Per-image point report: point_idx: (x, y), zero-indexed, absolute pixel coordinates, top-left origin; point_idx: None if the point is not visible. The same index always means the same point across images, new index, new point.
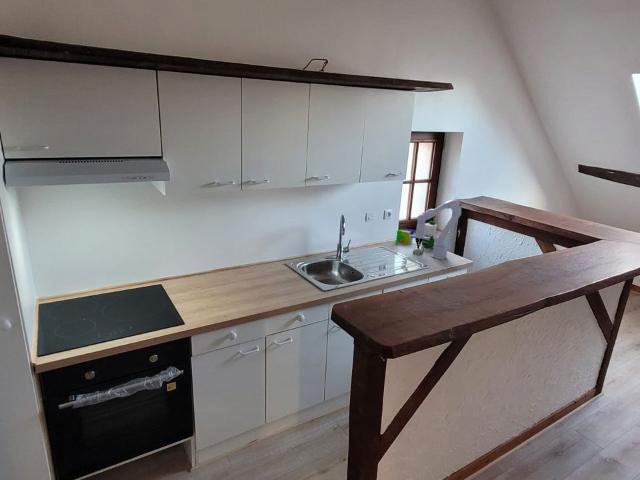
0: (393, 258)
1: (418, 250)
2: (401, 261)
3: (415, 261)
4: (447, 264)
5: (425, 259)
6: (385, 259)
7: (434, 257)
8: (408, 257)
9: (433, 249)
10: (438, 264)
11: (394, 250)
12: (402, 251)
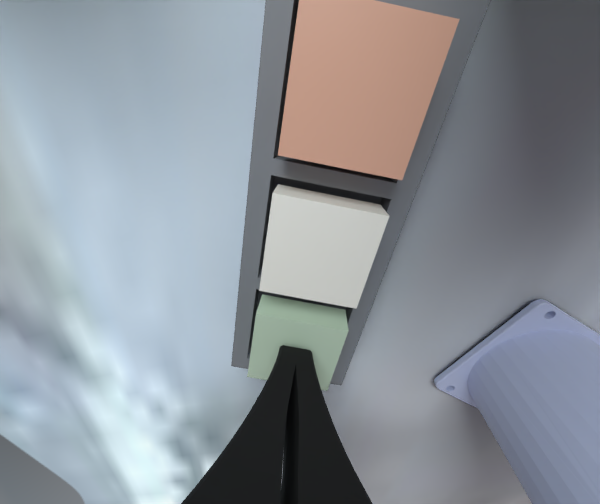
0: (100, 450)
1: None
2: (170, 482)
3: None
4: (517, 491)
5: (357, 438)
6: (58, 468)
7: (470, 402)
8: (207, 421)
9: (523, 472)
10: (438, 496)
11: (8, 270)
12: (110, 283)
